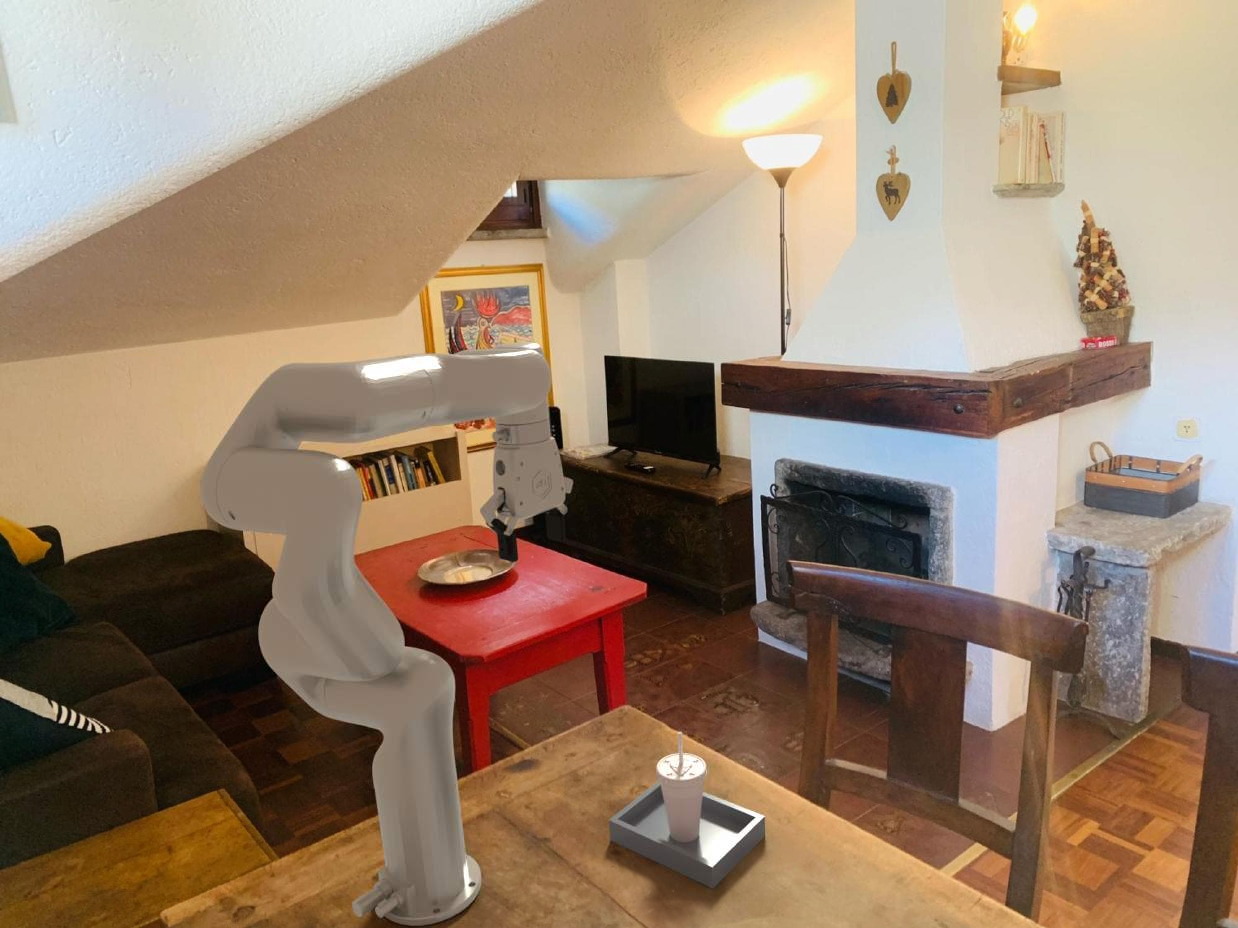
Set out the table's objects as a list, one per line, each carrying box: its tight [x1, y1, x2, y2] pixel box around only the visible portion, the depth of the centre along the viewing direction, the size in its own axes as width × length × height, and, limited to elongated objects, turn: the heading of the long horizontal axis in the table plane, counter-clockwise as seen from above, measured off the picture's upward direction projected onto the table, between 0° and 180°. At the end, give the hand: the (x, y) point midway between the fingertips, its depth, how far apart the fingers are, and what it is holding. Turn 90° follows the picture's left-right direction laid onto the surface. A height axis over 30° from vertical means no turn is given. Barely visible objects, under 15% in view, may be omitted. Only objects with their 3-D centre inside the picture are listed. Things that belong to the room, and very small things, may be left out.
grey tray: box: [608, 779, 766, 890], centre depth 120 cm, size 12×16×3 cm
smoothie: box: [655, 731, 708, 842], centre depth 118 cm, size 6×6×14 cm
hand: (533, 549), depth 133 cm, fingers open, 9 cm apart
